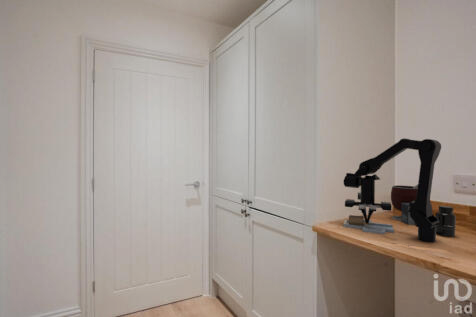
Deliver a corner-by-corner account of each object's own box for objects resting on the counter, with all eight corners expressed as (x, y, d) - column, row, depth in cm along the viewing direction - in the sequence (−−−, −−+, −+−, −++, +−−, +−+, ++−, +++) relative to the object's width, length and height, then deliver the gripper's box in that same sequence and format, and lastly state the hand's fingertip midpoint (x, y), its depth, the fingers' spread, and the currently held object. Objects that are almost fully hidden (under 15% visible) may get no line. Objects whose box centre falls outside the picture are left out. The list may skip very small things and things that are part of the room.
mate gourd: (394, 221, 137) (394, 182, 137) (387, 215, 150) (388, 179, 150) (429, 224, 132) (430, 183, 132) (420, 217, 146) (420, 180, 145)
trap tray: (391, 226, 127) (391, 222, 126) (395, 238, 109) (395, 233, 109) (345, 221, 135) (345, 217, 135) (342, 231, 118) (342, 226, 118)
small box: (423, 224, 132) (423, 202, 132) (431, 227, 126) (431, 205, 126) (400, 223, 133) (400, 202, 133) (407, 226, 127) (407, 204, 127)
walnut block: (363, 227, 121) (363, 218, 121) (348, 225, 124) (348, 217, 124) (363, 224, 125) (363, 216, 125) (349, 223, 128) (349, 215, 128)
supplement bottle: (446, 237, 111) (447, 208, 110) (430, 233, 117) (431, 205, 117) (459, 236, 112) (460, 207, 112) (443, 231, 119) (443, 204, 119)
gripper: (390, 188, 125) (389, 222, 126) (346, 186, 134) (346, 217, 134) (391, 191, 115) (391, 227, 116) (344, 188, 124) (344, 222, 124)
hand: (367, 223), depth 123 cm, fingers closed
